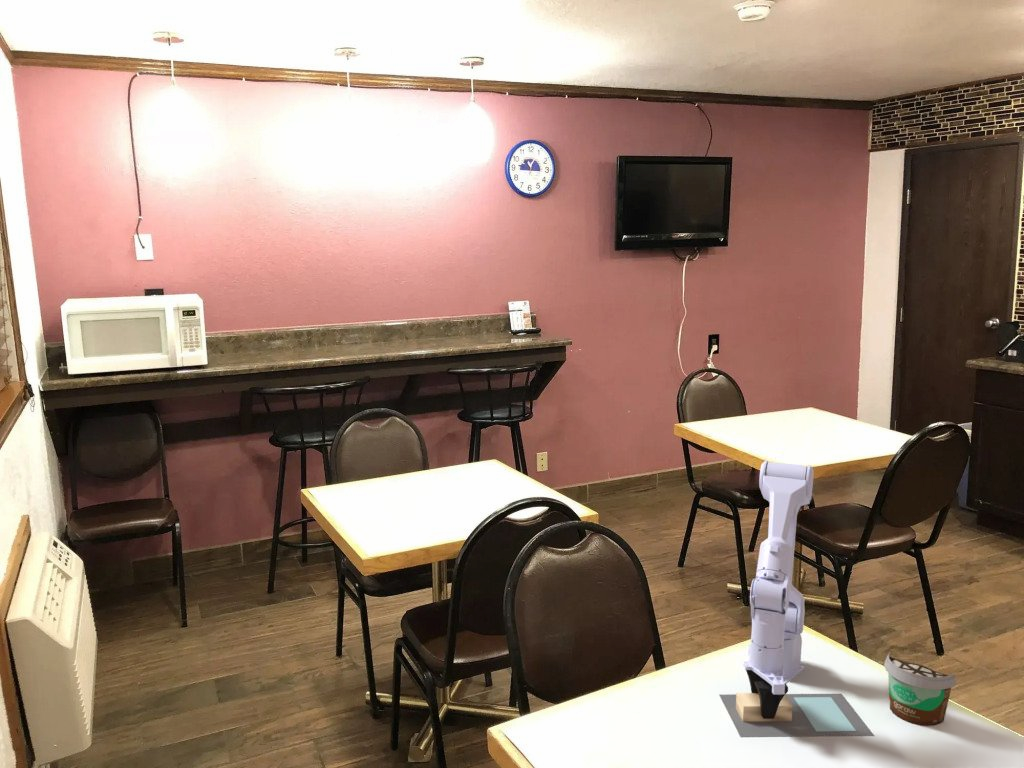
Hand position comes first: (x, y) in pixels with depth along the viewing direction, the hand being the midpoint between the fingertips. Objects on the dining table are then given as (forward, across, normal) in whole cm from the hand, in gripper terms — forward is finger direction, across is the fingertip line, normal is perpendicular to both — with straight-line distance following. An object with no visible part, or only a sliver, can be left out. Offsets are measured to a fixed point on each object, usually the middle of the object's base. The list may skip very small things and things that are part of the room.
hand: (763, 709), depth 151 cm
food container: (+2, +1, +28) cm, 28 cm away
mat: (+1, 0, +6) cm, 6 cm away
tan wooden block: (+1, 0, 0) cm, 1 cm away
